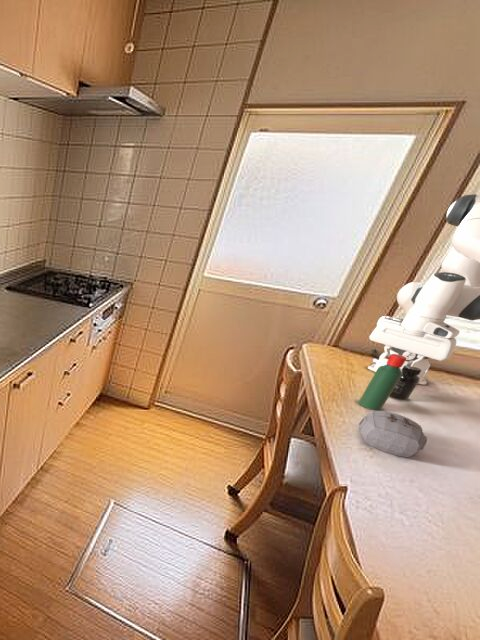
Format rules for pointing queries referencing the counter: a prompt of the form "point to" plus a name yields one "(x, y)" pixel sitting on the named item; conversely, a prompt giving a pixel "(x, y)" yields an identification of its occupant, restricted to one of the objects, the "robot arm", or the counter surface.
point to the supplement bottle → (406, 383)
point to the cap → (396, 360)
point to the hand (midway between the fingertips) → (398, 362)
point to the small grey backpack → (392, 433)
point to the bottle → (380, 387)
